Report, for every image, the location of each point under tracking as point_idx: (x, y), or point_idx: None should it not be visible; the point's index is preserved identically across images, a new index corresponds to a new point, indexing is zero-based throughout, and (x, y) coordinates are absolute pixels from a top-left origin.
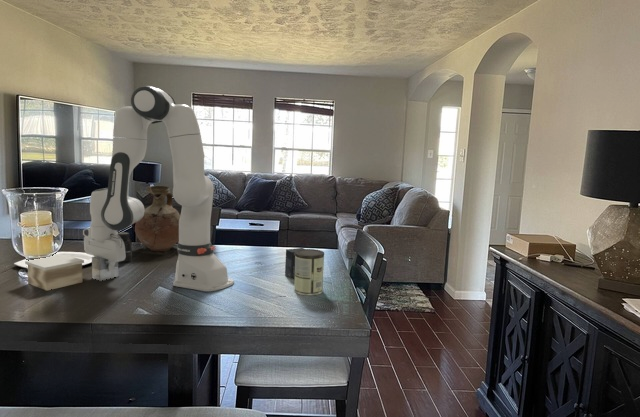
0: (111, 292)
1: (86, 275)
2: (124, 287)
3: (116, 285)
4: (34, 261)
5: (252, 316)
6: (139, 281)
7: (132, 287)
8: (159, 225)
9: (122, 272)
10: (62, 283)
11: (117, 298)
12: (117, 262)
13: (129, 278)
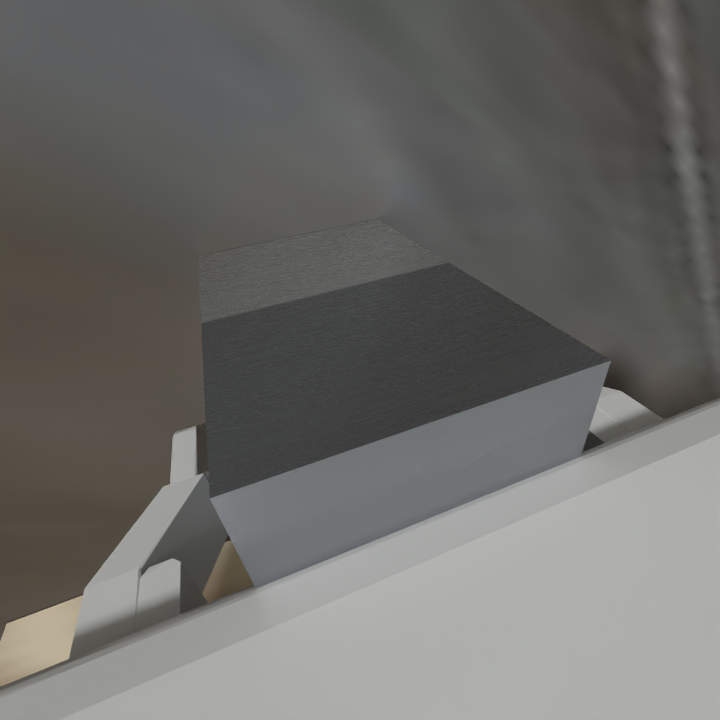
0: (634, 392)
1: (91, 477)
2: (647, 302)
3: (573, 332)
4: None
5: None
6: (670, 117)
7: (696, 257)
8: None
9: (179, 38)
10: None
11: (709, 388)
12: (493, 301)
13: (521, 143)
